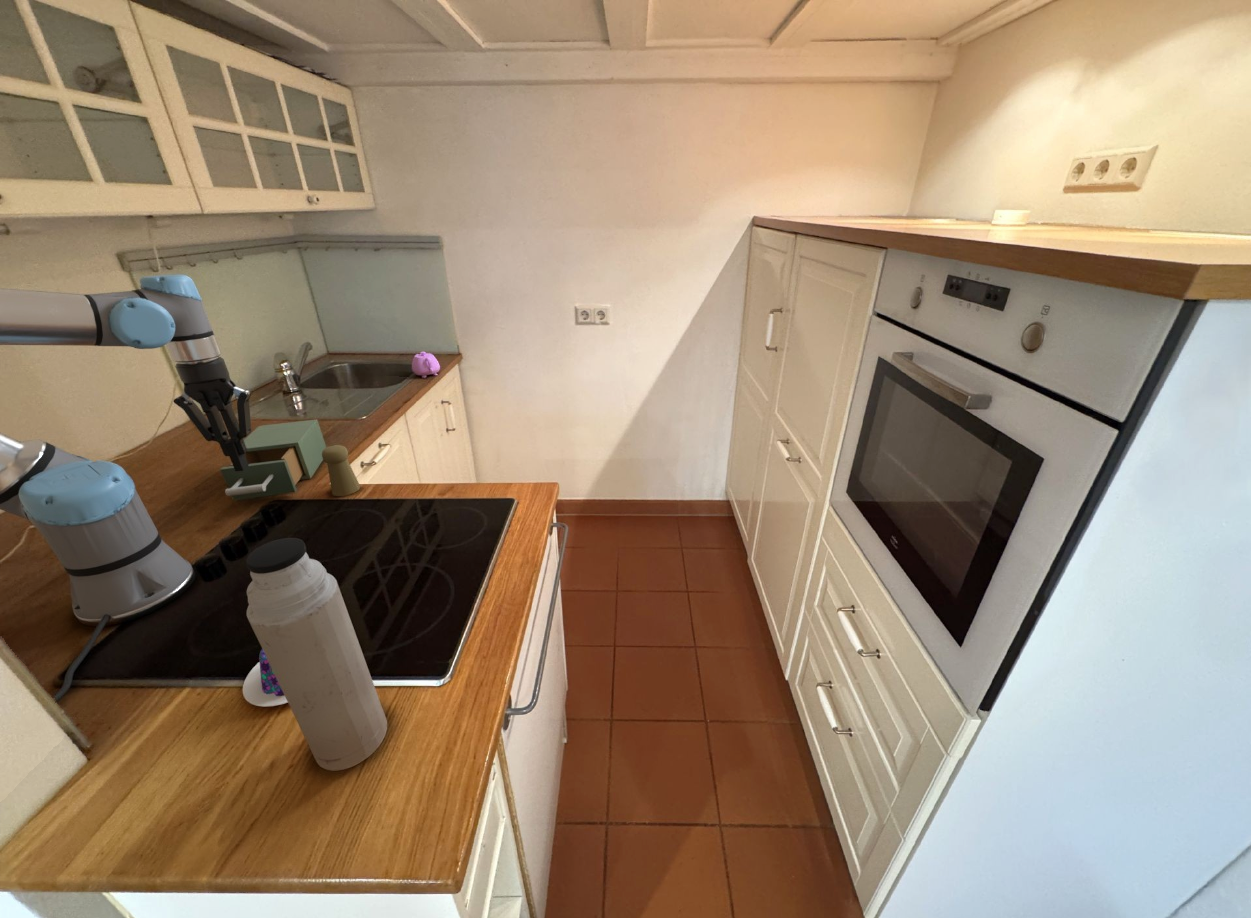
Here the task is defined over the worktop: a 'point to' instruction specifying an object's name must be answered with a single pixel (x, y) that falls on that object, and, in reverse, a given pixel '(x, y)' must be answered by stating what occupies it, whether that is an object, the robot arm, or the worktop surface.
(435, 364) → the pink rounded figure
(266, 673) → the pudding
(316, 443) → the cabinet
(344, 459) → the olive tapered upright piece
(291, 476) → the drawer
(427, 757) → the worktop surface
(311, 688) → the thermos bottle
